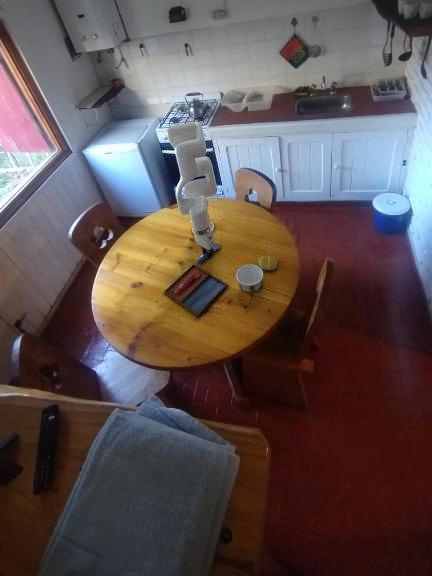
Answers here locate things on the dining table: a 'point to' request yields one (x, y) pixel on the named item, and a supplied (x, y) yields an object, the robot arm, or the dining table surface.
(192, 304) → the sorting tray
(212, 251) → the blue spoon
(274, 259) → the bread roll
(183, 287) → the red spoon
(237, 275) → the food container
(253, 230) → the dining table surface
